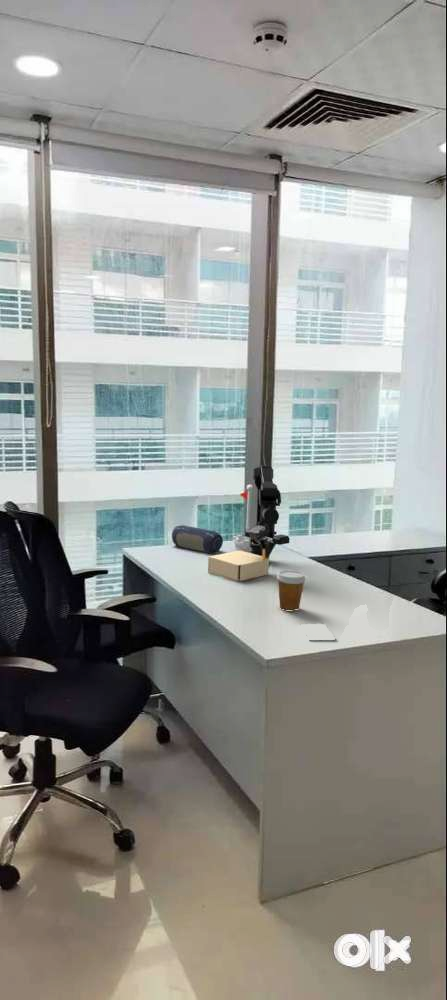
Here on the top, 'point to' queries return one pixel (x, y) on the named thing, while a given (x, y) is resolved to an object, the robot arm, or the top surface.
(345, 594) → the top surface
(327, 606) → the top surface
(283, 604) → the disposable coffee cup
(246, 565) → the carton flap
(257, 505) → the robot arm
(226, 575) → the carton
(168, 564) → the top surface
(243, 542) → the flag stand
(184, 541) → the portable speaker
